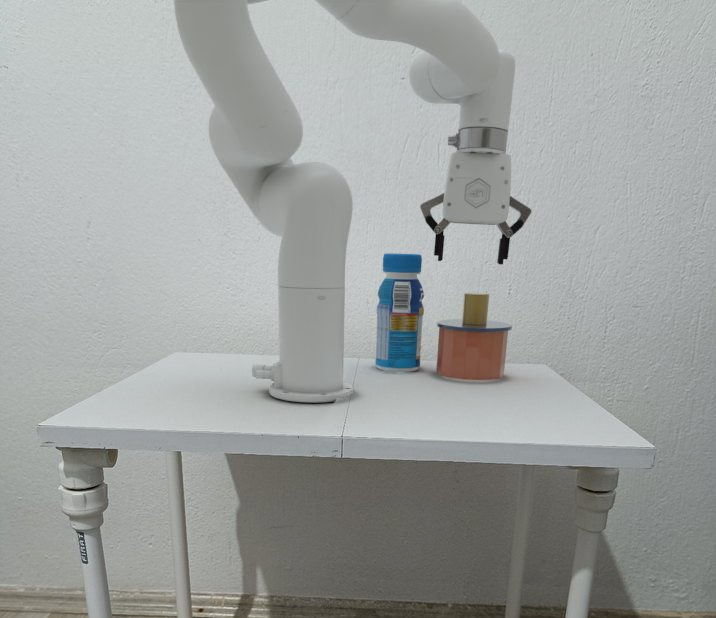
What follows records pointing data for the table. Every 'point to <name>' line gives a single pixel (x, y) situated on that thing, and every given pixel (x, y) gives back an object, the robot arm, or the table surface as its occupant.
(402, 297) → the beverage bottle
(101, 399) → the table surface
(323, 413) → the table surface
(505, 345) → the tin
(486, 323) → the cover
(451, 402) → the table surface
